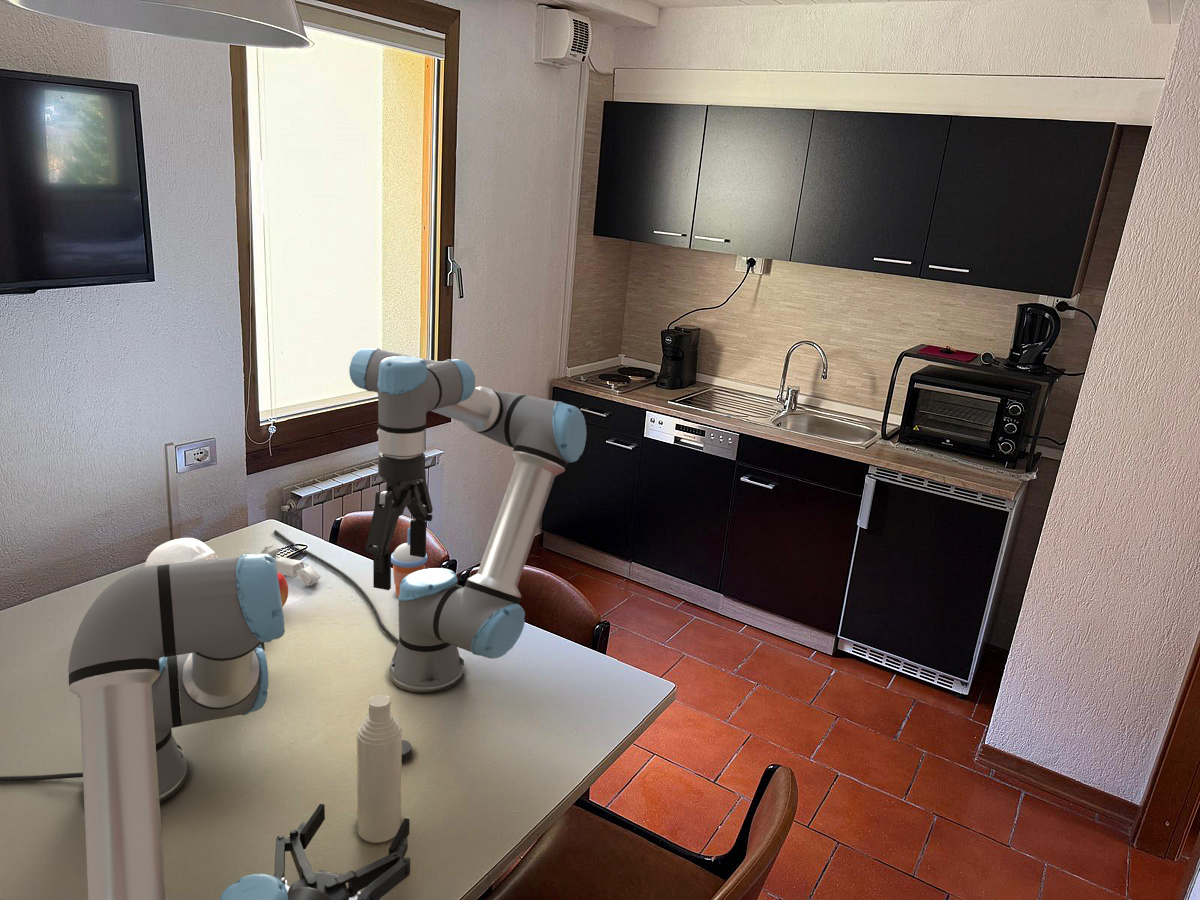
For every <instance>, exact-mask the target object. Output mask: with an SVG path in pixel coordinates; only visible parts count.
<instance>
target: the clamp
mask: <svg viewBox="0 0 1200 900" xmlns="http://www.w3.org/2000/svg"><path fill="white" fill-rule="evenodd" d="M280 549H281V547H279V546H278V545H277V544H272V545H266V546H264V547H263V549H262V550H261V551H260V552H259V554H269V555H271V556H272V557H273V558H274V560H275V562H276V567H277V572H278V573H281V574H282V575H283V576H288V577H292V578H296V577H298V578H299V579H300V580H301V582H303V584H304V585H305V587H309V586H312V585H314V584H316V583H318V582H319V580H320V579H321V578H322V577H321V575H320V574H319V573H318V572H317V570H315V569H314V568H313V566H312V565H310V564H309V565H308V564H307V563H305V562H304V561H303V560H301V559H300V560H299V559H292V558H289V557H285V556H278V553H279V551H280ZM305 566H306V567H305Z"/></svg>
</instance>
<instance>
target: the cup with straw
mask: <svg viewBox="0 0 1200 900" xmlns="http://www.w3.org/2000/svg"><path fill="white" fill-rule="evenodd" d="M406 541H407V542H404V543H401V544H399V545H398V546H397V547H396V548H395V549H394V551H393V552H391V565H392V575H393V583H394V586H395V595H396V597H397V598H398V597H399V592H400V584H401V581H402V580H403V579H404V578H405V577H406V576H407V575H409V574H411V573H413V572H416V571H419V570H423V569H426V566H425V564H426V563H428V558H429V557H428V554H427V553H426V556H425V557H424V558H423V557H418V556H412V555H410V527H407V540H406Z"/></svg>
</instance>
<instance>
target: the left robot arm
mask: <svg viewBox="0 0 1200 900" xmlns="http://www.w3.org/2000/svg"><path fill="white" fill-rule="evenodd" d="M274 559H275V558H273V557H272V556H271V555H269V554H260V553H256V554H255V553H254V554H252V553H247V552H246V553H243V554H241V555H237V556H228V557H218V559H210V560H201V561H192V562H183V563H175V564H167V565H158V568H157V565H153V566H147V567H145V566H143V567H138V568H136V569H133V570H131V571H129V572H127V573H126V574H124V575H122V576H120V577H118V578H117V579H115V580H114V581H113V582H111V584H109V585H108V586H107V587H106V588H105V589H103V591H102V592H101V593H100V594H99V596H97V598H96V599H95V600H94V601H93V603H91V605H90V607H88V610H87V611H86V613H85V615H84V616H83V618H82V620H81V622H80V624H79V626H78V629H77V631H76V634H75V636H74V638H73V642H72V645H71V649H70V652H69V653H70V654H69V659H68V668H67V670H68V690H69V691H70V692H71V693H73V694H74V695H76V696H77V698H78V699H79V712H80V713H79V714H80V715H79V716H80V736H81V737H80V738H81V759H82V772H68V773H66V772H65V773H55V774H54V773H53V774H41V775H40V774H39V775H10V776H9V775H8V776H6V775H5V776H4V775H3V776H2V775H1V776H0V782H29V781H30V782H31V781H47V780H61V779H77V778H82V779H83V780H82V781H83V783H82V784H83V803H84V805H83V806H84V829H85V848H86V851H85V852H86V869H87V870H86V873H87V875H86V876H87V877H86V878H87V897H88V898H87V899H88V900H167V894H166V893H167V892H166V891H167V890H166V879H165V878H166V876H165V864H164V863H165V862H164V849H163V848H164V847H163V833H162V820H161V819H162V817H161V805H160V804H162V803H163V802H165V801H167V800H168V799H169V798H172V796H174V795H175V794H176V793H177V792H178V791H179V790H180V789H181V788H182V786H183V785H184V784H185V782H186V780H187V775H188V767H187V761H186V757H185V756H184V754H183V753H182V750H183V749H182V747H181V746H180V745H179V744H178V743H177V741H176V740H175V738H174V736H173V731H172V730H173V729H174V728H179V727H183V726H189V725H194V724H199V723H205V722H210V721H216V720H221V719H226V718H231V717H235V716H236V717H237V716H246V715H248V714H250V713H254V712H258V711H260V710H261V709H262V708H263V707H264V706H265V704H266V702H267V699H268V689H269V667H268V660H267V656H266V653H265V651H264V650H263V649H262V647H261V645H260V644H261V642H263V643H264V644H266V643H271V642H272V641H274V640H278V639H280V638H282V637H283V636H284V635H285V634H286V633H285V632H286V629H285V617H284V609H283V607H282V601H281V594H280V587H279V581H278V576H277V567H276V562H275V560H274ZM325 806H326V805H325V803H319V804H318V806H317V808H316V809H315V810H314V812H313V813H312V814H311V816H310V818H309V819H308V821H302V822H301V823H300V824H299V826H298V827H297V829H292V830H290V832H289V836H288V837H285V836H284V835H281V834H280V835H278V836H277V837H276V838H275V853H274V854H275V855H274V874H273V875H271V874H268V873H252V874H248V875H245V876H242V877H240V878H239V879H238V880H237V881H236V882H234V883H231V884H229V885H228V886H227V887H226V888H225V889H224V890H223V891H222V893H221V895H220V897H219V900H380V899H382V898H383V897H384V896H385V895H387V894H388V893H389V892H390V891H392V890H393V889H394V888H395V887H397V886H398V885H399V884H401V883H402V882H404V880H406V879H407V878H408V877H409V876H410V875H411V858H410V857H408V856H406V854H407V852H408V849H409V839H408V837H409V835H410V825H411V824H410V823H411V821H410V820H411V819H410V818H407V817H404V819H403V821H402V822H401V826H400V828H399V830H398V832H397V834H396V836H395V837H393V840H392V842H391V844H390V846H389V848H388V854H387V855H385V856H383V857H381V858H379V859H378V860H375V861H373V862H371V863H369V864H367V865H365V866H363V867H361V868H359V869H357V870H355V871H353V870H349V871H347V872H345V873H343V874H342V873H341V872H340V873H339V872H329V871H326V870H323V869H319V870H318V871H315V872H314V870H313V868H312V865H311V863H309V859H308V857H307V855H306V853H305V850H306V849H307V847H308V846H309V844H310V842H312V839H313V838H314V837H315V835H316V834H317V832H318V830H319V829H320V827H321V825H322V824H323V823H324V821H325V820H326V810H325V809H326V807H325ZM286 852H290V855H291V857H292V860H293V864H294V866H295V868H296V872H297V875H298V877H299V880H297V881H295V882H293V883H292V884H290V886H289V884H288V880H287V879H286V877H285V875H286V873H285V872H286ZM361 890H362V891H361Z"/></svg>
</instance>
